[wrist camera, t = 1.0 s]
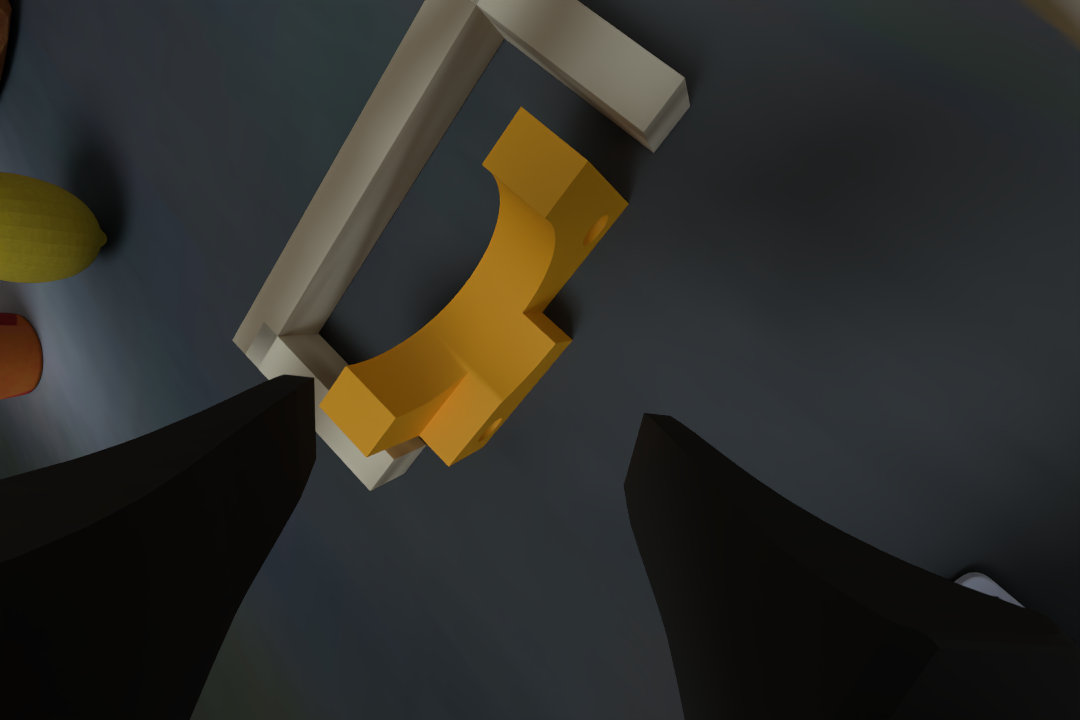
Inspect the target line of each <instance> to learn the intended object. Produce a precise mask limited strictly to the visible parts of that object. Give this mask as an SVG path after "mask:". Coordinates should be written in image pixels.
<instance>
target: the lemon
mask: <svg viewBox="0 0 1080 720" xmlns="http://www.w3.org/2000/svg"><path fill="white" fill-rule="evenodd" d="M106 242H107V236H106V234H105V233H104V232H103V231H102V230H101V229H100V226H99V223H98V221H97V219H96V217H95V216H94V214H93V213H92V212H91V210H90V209H89V208H88V207H87V206H86V204H84V203H83V202H82V201H81V200H80V199H78V198H77V197H76V196H74V195H73V194H71V193H70V192H68V191H66V190H65V189H63V188H61V187H58V186H56V185H54V184H51V183H48V182H45V181H42V180H38V179H35V178H31V177H27V176H23V175H18V174H12V173H3V172H0V280H3V281H10V282H21V283H41V282H50V281H55V280H60V279H65V278H68V277H71V276H74V275H76V274H78V273H80V272H81V271H83V270H84V269H86V268H87V267H88V266H89V265H91V264H92V263H93V261H94V260H95V259H96V257H97V255H98V253H99V251H100V248H101V247H102V246H103V245H104V244H105V243H106Z"/></svg>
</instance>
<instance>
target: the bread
mask: <svg viewBox="0 0 1080 720" xmlns="http://www.w3.org/2000/svg"><path fill="white" fill-rule="evenodd" d="M11 11H12V9H11V6H10V3H9V1H8V0H0V80H1V76H2V71H3V67H4V62H5V56H6V51H7V46H8V40H9V32H10V21H11Z"/></svg>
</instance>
